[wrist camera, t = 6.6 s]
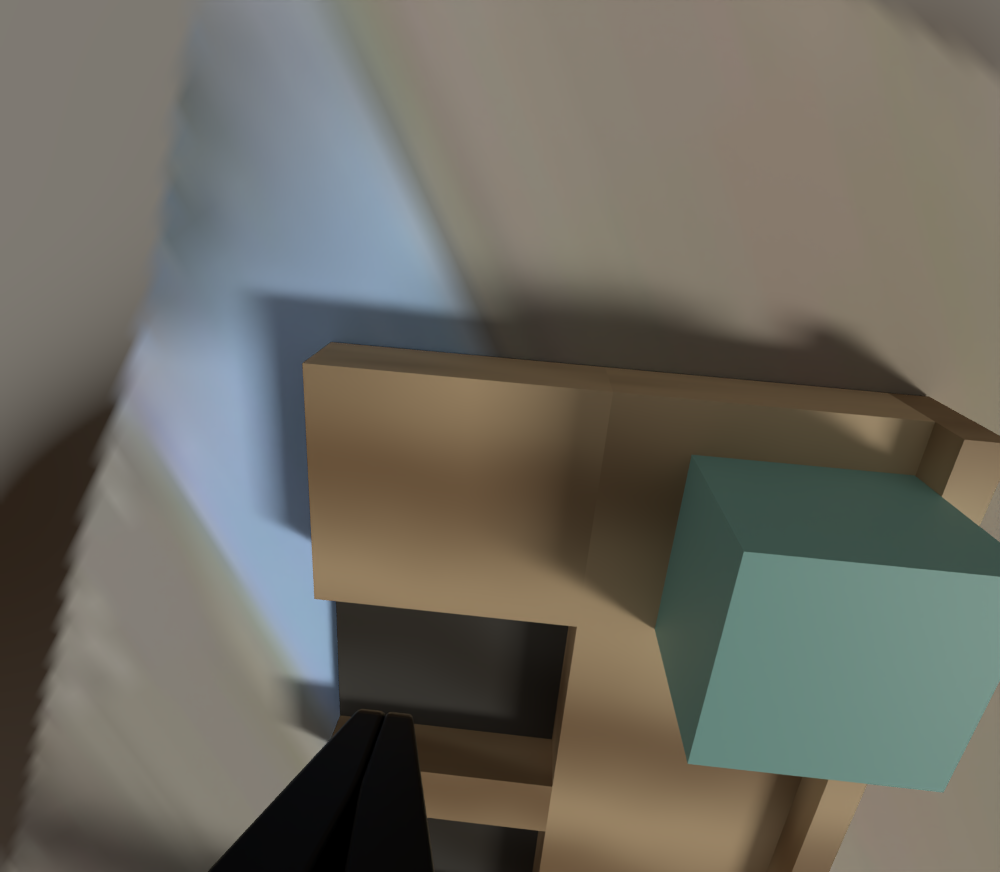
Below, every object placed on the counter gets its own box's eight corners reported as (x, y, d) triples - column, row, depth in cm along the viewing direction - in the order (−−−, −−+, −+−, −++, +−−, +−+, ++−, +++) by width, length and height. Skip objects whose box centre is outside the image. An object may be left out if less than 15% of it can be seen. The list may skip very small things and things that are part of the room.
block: (850, 649, 16) (943, 792, 12) (654, 629, 16) (687, 764, 12) (914, 475, 14) (1049, 581, 10) (691, 454, 14) (743, 551, 10)
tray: (701, 1022, 26) (727, 1161, 22) (328, 974, 26) (293, 1102, 23) (928, 396, 15) (1053, 465, 11) (292, 338, 16) (214, 386, 12)
